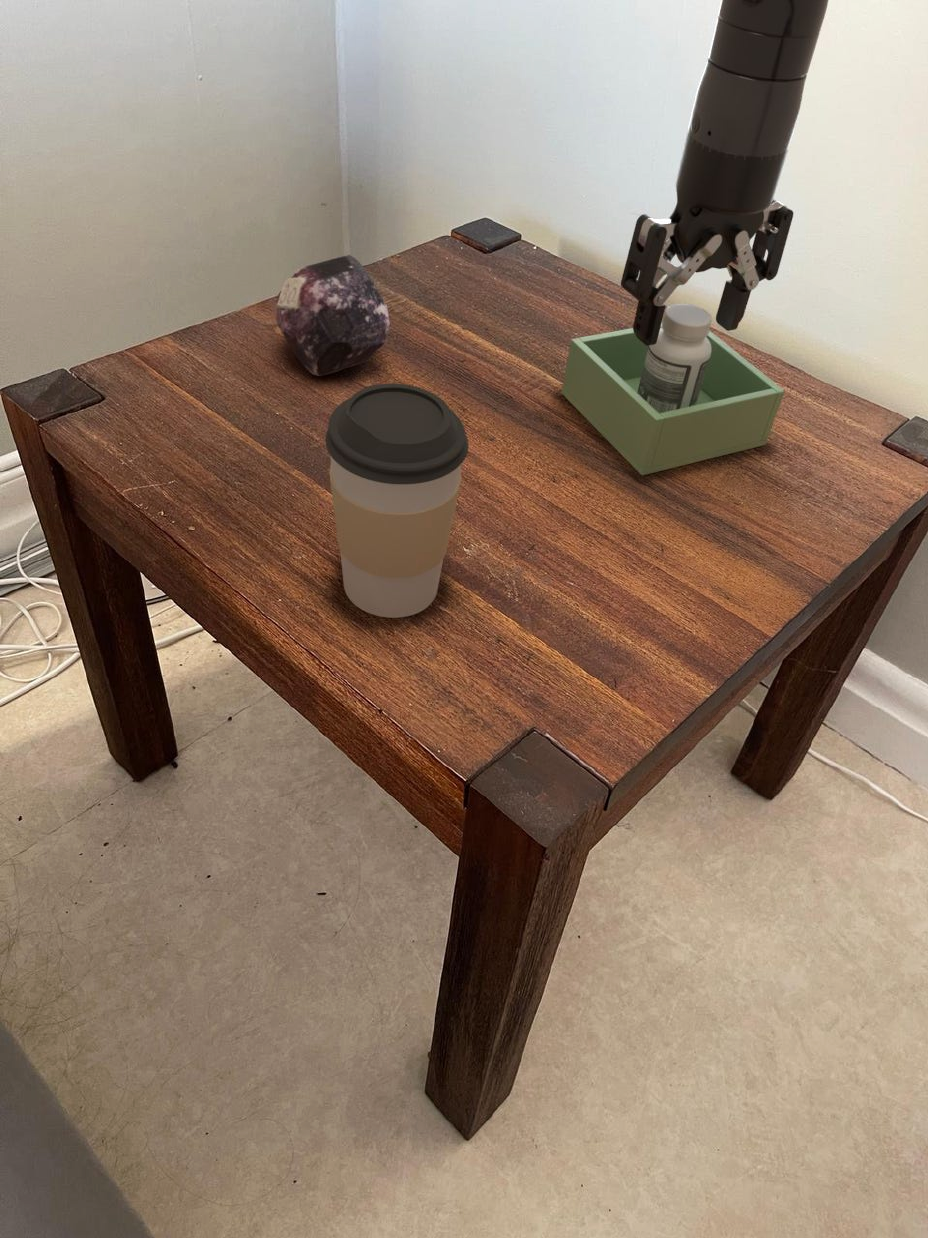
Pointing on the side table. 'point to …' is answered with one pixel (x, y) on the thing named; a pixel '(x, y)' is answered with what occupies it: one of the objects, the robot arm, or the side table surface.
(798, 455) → the side table surface
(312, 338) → the mineral specimen
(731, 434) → the bin
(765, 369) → the side table surface
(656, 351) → the pill bottle
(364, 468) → the coffee cup
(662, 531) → the side table surface
